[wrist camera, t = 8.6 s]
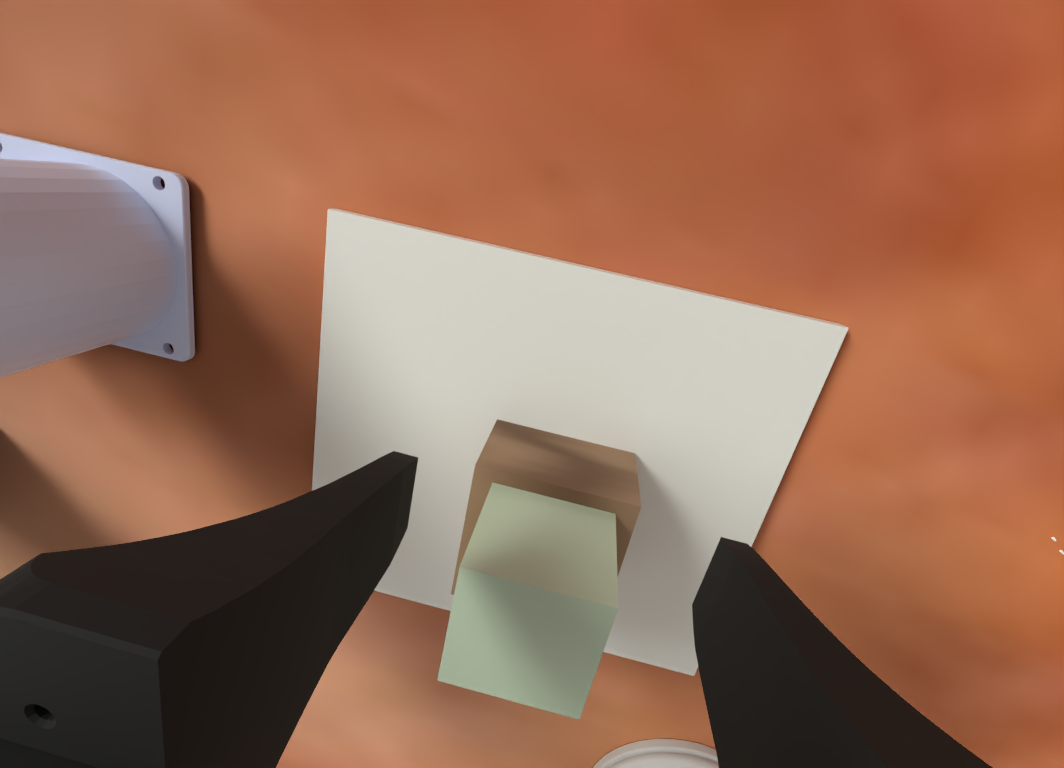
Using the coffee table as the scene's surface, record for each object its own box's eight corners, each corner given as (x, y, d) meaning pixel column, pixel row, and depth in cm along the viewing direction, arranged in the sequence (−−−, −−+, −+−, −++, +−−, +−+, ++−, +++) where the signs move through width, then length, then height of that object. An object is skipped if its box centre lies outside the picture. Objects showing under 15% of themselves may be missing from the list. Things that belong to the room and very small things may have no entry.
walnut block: (474, 532, 24) (450, 594, 21) (497, 419, 22) (474, 465, 19) (599, 565, 24) (598, 633, 20) (635, 453, 22) (641, 507, 18)
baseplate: (313, 564, 27) (307, 572, 27) (335, 208, 21) (327, 208, 20) (692, 665, 26) (694, 676, 26) (841, 324, 20) (848, 328, 19)
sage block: (472, 579, 20) (437, 680, 16) (492, 482, 19) (459, 566, 14) (585, 609, 20) (579, 719, 16) (615, 513, 18) (618, 608, 14)
